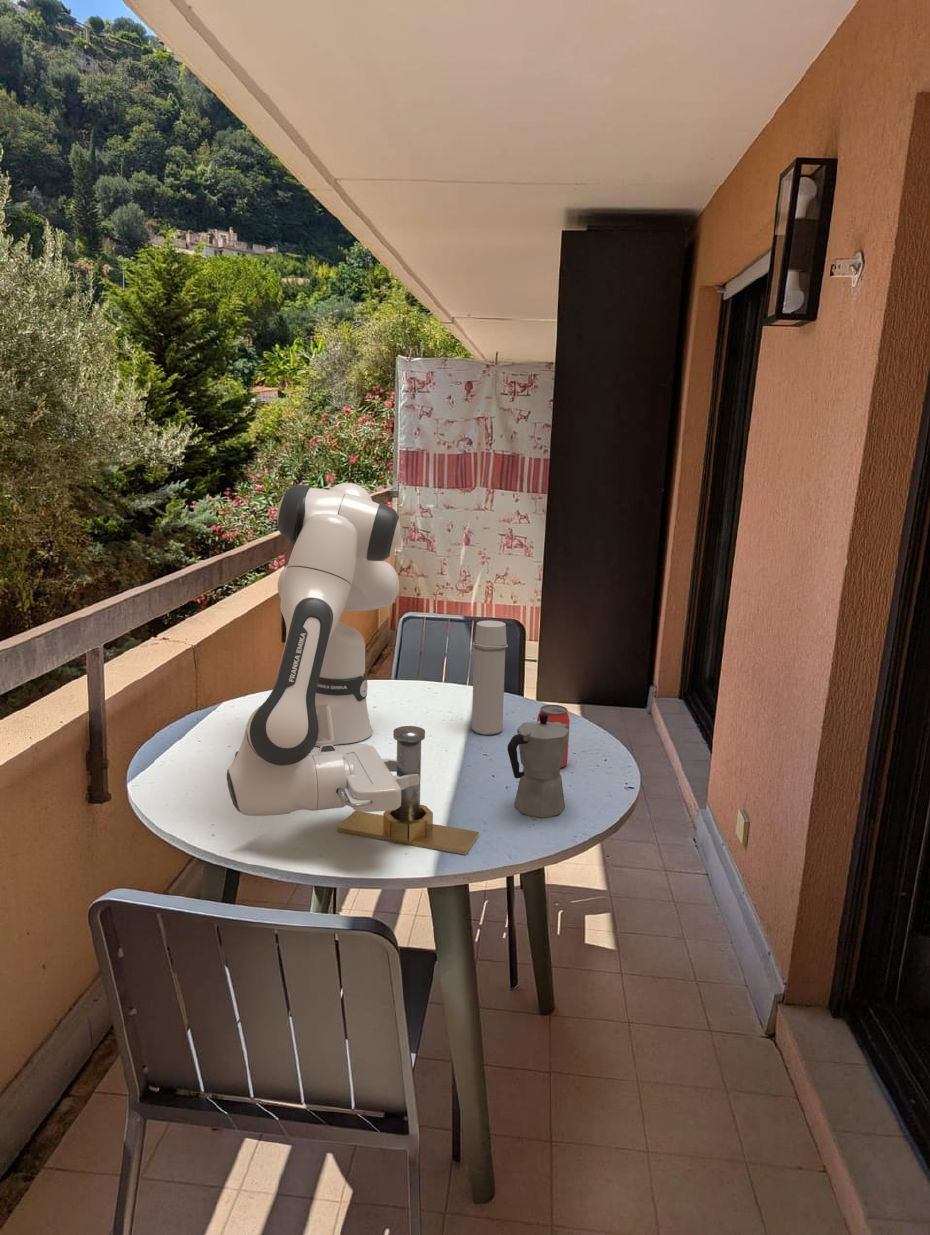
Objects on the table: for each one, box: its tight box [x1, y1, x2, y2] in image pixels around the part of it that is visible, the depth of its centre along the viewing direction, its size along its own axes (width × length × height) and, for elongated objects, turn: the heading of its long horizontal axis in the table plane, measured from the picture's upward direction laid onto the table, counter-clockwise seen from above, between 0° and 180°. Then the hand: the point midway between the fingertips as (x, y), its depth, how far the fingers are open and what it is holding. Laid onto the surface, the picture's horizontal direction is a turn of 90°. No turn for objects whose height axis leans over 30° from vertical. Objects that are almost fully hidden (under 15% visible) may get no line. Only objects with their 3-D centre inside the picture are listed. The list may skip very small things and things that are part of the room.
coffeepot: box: [507, 713, 570, 819], centre depth 156 cm, size 15×9×18 cm, turn 133°
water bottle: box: [471, 620, 509, 736], centre depth 196 cm, size 9×8×25 cm
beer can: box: [536, 704, 571, 769], centre depth 178 cm, size 7×7×12 cm
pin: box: [392, 725, 426, 822], centre depth 145 cm, size 5×5×16 cm
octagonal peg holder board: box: [336, 804, 480, 856], centre depth 147 cm, size 23×8×4 cm, turn 72°
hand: (413, 771), depth 145 cm, fingers closed on pin, 4 cm apart
